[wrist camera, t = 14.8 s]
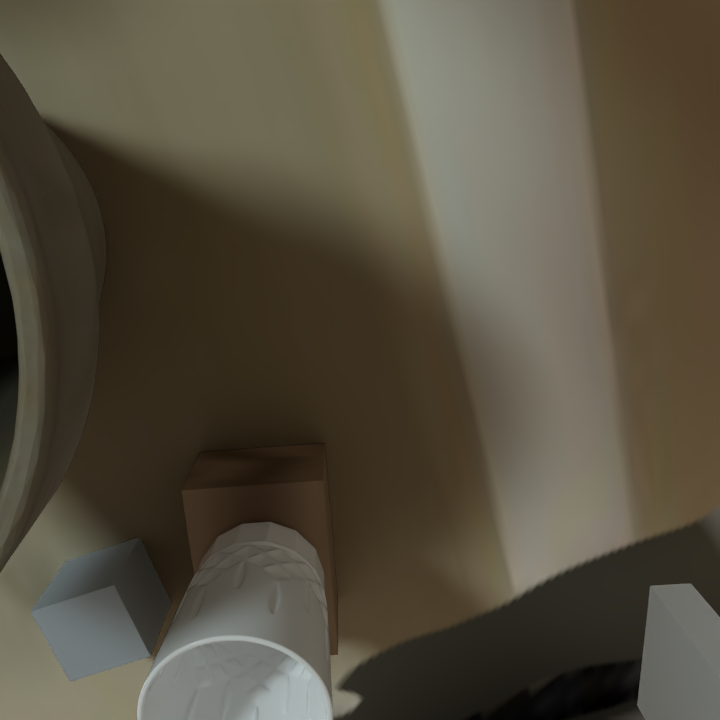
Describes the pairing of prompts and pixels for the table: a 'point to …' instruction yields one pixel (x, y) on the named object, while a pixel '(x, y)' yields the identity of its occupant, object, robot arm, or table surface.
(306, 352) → the table surface
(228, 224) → the table surface
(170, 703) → the white cup
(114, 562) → the grey cube
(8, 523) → the plant pot
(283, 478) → the walnut block
